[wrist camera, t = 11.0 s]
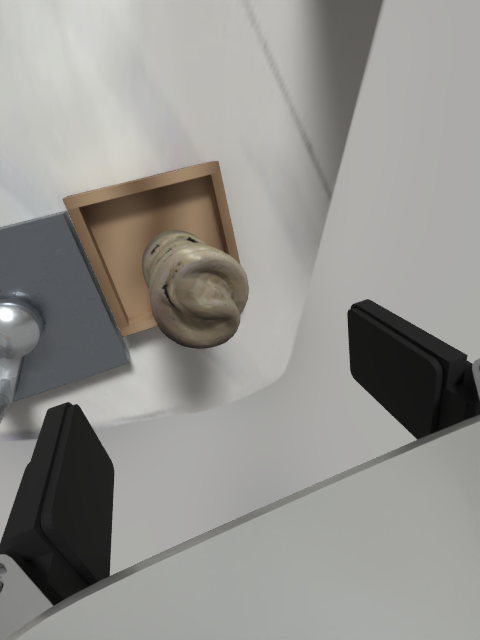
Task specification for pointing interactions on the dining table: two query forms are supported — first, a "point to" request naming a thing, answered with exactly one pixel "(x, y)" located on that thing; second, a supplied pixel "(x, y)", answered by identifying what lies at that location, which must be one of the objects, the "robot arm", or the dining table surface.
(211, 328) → the light bulb
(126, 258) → the tray
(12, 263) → the crank base
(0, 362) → the crank
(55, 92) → the dining table surface
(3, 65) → the dining table surface
